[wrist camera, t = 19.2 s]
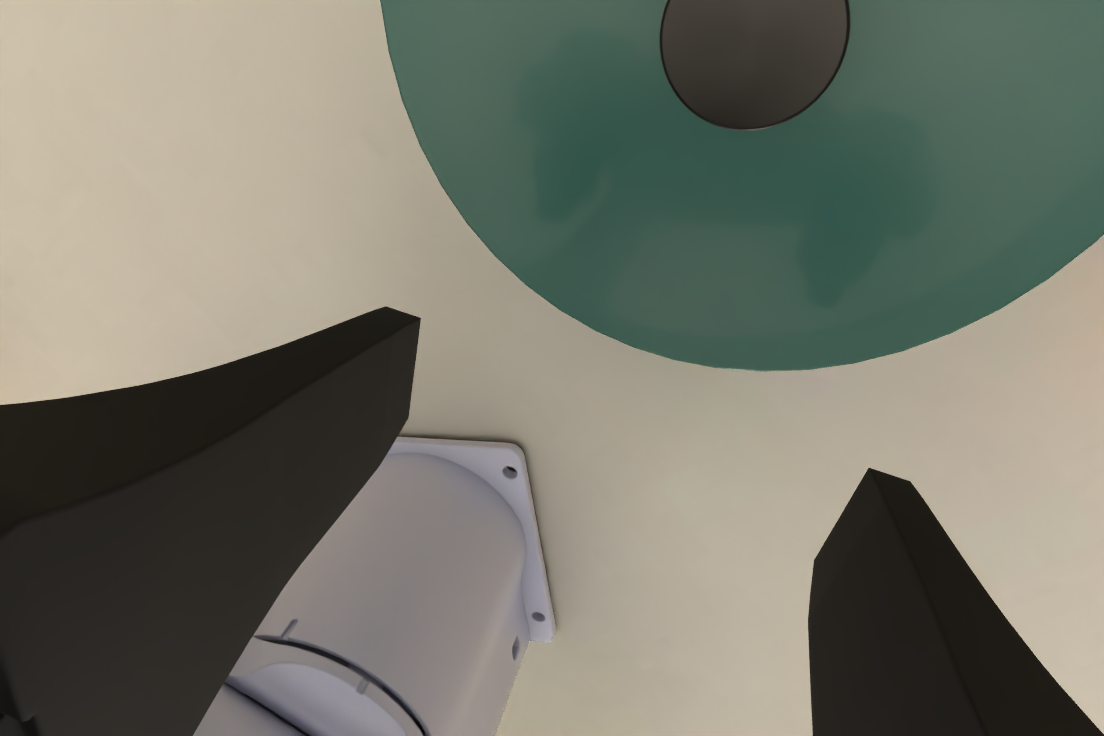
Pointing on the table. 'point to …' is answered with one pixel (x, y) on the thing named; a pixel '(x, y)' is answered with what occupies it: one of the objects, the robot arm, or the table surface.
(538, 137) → the tin lid
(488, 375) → the table surface
